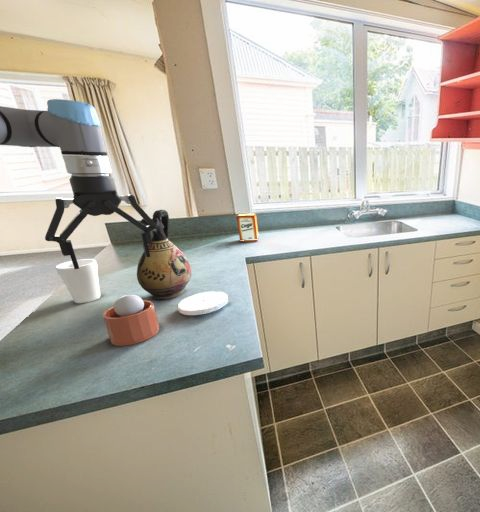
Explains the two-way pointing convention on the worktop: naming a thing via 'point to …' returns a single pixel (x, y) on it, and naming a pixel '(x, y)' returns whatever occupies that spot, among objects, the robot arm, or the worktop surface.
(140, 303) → the lightbulb
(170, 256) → the ceramic jug
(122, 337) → the holder
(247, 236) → the baking soda box
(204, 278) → the worktop surface
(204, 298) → the plastic lid
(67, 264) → the foam cup
